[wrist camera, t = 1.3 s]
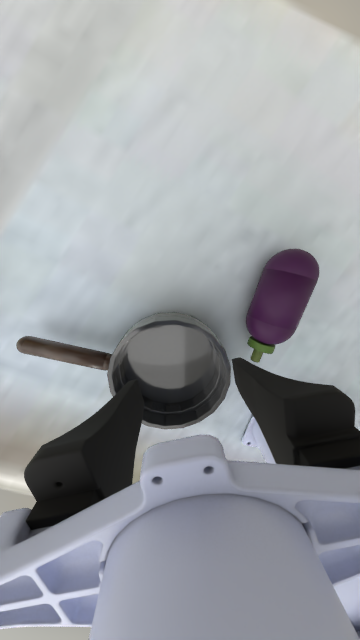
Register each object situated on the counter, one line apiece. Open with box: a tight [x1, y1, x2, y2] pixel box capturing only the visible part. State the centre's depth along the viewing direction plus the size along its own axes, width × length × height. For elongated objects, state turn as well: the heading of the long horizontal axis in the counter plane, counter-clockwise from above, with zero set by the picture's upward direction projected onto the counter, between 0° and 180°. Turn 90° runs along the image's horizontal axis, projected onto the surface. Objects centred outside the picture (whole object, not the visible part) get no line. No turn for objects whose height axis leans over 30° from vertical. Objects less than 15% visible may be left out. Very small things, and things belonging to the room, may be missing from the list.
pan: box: [107, 312, 231, 429], centre depth 23 cm, size 13×13×4 cm
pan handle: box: [16, 336, 112, 370], centre depth 20 cm, size 10×2×2 cm, turn 75°
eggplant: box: [246, 249, 319, 362], centre depth 20 cm, size 12×5×5 cm, turn 165°
